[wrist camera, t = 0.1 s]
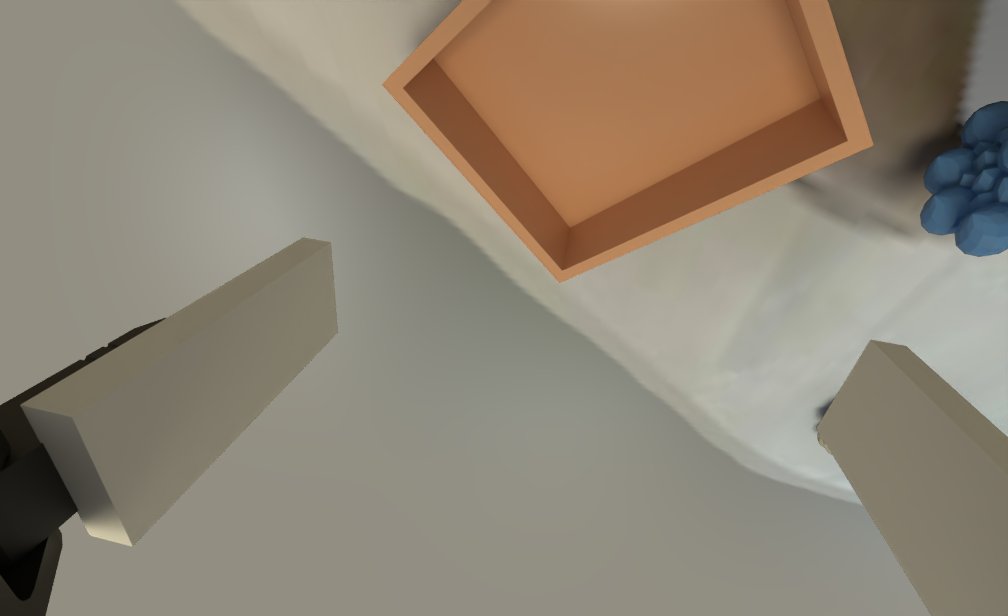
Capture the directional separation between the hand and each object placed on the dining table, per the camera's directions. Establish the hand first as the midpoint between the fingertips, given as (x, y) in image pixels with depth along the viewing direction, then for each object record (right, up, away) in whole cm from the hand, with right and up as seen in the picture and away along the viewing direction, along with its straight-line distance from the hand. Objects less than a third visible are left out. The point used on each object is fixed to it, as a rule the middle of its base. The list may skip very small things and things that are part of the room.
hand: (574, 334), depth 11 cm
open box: (+6, +18, +21) cm, 28 cm away
